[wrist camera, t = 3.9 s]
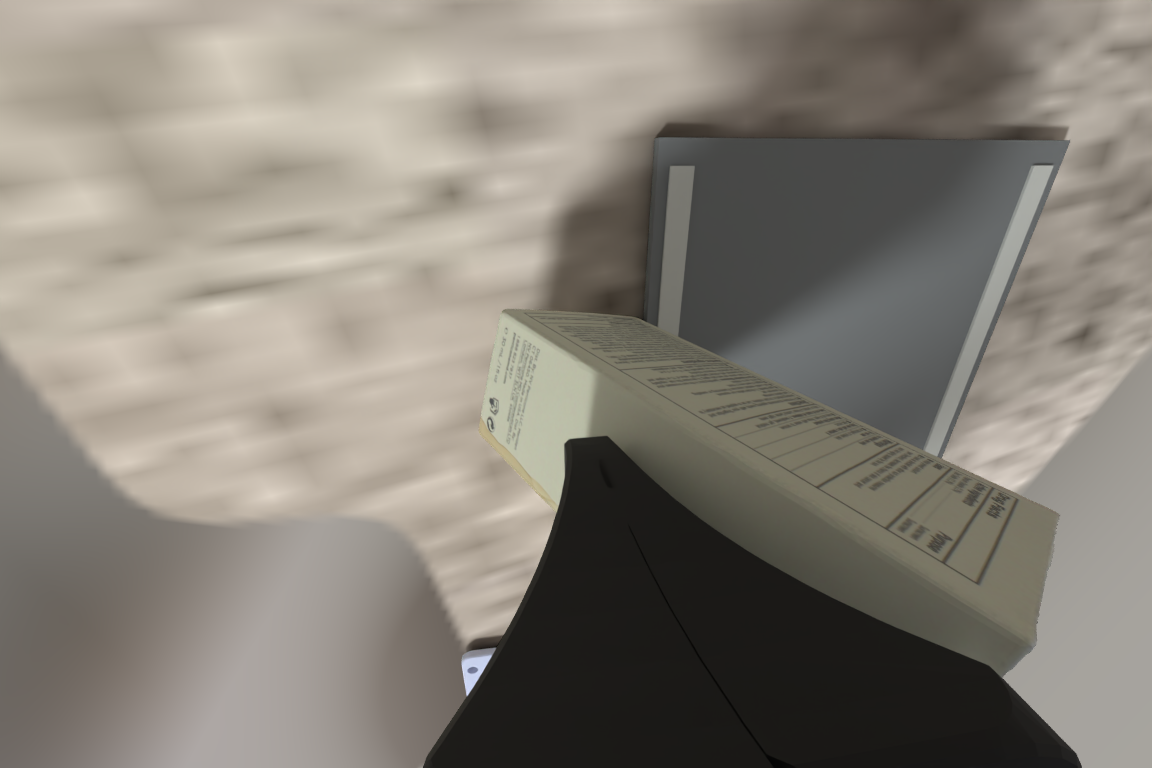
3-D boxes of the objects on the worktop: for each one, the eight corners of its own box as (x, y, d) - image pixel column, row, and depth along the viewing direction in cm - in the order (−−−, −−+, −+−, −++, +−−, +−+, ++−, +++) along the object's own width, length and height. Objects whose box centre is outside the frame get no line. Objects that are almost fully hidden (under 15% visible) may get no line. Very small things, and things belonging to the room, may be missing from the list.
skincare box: (472, 432, 15) (853, 862, 7) (499, 298, 13) (1046, 652, 5) (611, 413, 19) (949, 664, 11) (644, 310, 17) (1073, 514, 9)
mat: (915, 494, 23) (925, 502, 23) (630, 524, 21) (633, 533, 21) (1055, 141, 17) (1073, 140, 16) (654, 138, 15) (660, 137, 14)
